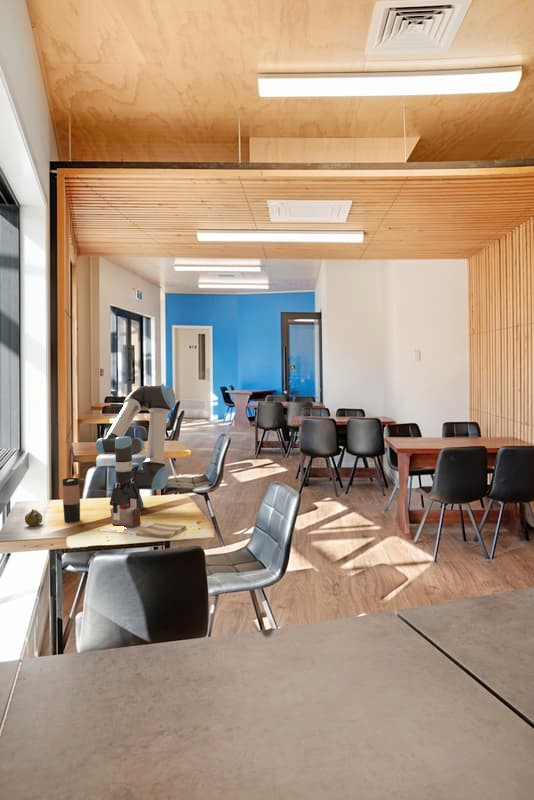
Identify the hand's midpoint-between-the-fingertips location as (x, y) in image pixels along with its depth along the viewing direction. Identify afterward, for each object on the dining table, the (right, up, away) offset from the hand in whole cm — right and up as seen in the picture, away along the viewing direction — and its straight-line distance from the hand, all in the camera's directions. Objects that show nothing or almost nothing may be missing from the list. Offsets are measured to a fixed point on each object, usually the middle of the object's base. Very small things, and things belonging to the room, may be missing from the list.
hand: (125, 516), depth 273 cm
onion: (-43, -5, +4) cm, 44 cm away
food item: (0, -5, 0) cm, 5 cm away
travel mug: (-28, -4, +11) cm, 30 cm away
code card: (+1, -5, -3) cm, 6 cm away
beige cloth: (+18, -5, -11) cm, 22 cm away
